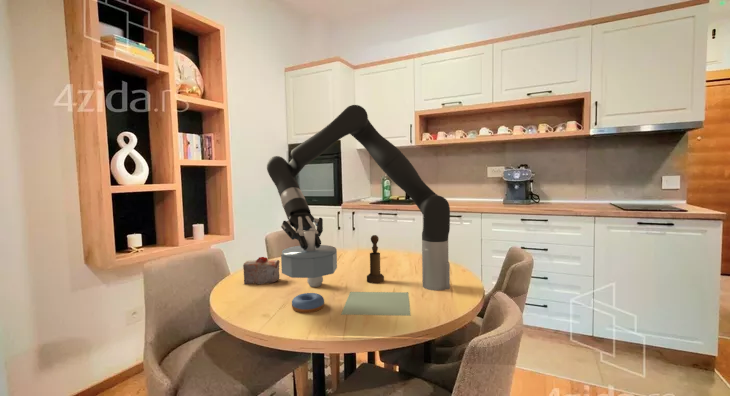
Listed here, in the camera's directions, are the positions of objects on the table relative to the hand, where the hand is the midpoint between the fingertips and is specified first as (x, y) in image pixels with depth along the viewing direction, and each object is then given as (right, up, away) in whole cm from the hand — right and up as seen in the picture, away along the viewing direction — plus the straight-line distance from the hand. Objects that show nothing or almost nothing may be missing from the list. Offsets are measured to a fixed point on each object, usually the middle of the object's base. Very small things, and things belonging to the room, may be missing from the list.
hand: (312, 247), depth 104 cm
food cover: (-1, -7, +2) cm, 8 cm away
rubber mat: (+20, -19, +6) cm, 28 cm away
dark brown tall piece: (+20, -18, +29) cm, 39 cm away
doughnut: (-2, -20, +3) cm, 20 cm away
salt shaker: (-3, -18, +25) cm, 31 cm away
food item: (-24, -18, +32) cm, 44 cm away
